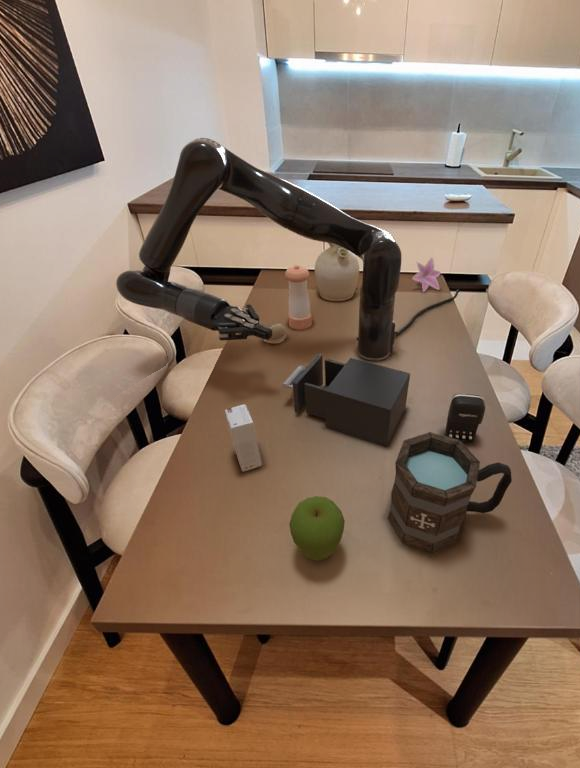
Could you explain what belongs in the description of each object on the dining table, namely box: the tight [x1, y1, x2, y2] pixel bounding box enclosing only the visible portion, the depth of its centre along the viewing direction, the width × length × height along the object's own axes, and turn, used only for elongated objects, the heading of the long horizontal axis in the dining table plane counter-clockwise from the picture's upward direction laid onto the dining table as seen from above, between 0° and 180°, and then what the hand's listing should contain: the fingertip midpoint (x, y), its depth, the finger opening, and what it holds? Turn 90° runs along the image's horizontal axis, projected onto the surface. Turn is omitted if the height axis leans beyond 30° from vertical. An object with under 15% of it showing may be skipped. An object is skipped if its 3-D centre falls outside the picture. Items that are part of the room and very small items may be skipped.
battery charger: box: [443, 393, 486, 443], centre depth 85 cm, size 7×4×11 cm, turn 83°
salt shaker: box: [284, 264, 313, 331], centre depth 120 cm, size 7×7×19 cm
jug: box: [314, 243, 360, 302], centre depth 136 cm, size 15×16×25 cm
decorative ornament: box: [262, 323, 287, 345], centre depth 117 cm, size 4×8×5 cm, turn 129°
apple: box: [288, 495, 345, 561], centre depth 63 cm, size 9×8×12 cm
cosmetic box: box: [224, 403, 263, 472], centre depth 78 cm, size 6×4×12 cm
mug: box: [387, 431, 513, 554], centre depth 68 cm, size 20×14×15 cm
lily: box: [411, 257, 442, 293], centre depth 149 cm, size 12×12×10 cm
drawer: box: [281, 353, 346, 420], centre depth 93 cm, size 18×12×9 cm
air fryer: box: [325, 357, 411, 447], centre depth 90 cm, size 15×14×11 cm
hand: (270, 334), depth 89 cm, fingers closed
